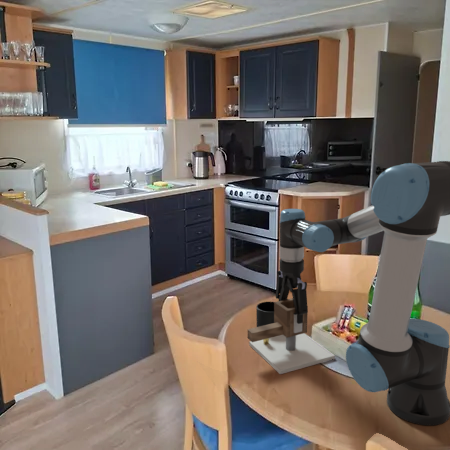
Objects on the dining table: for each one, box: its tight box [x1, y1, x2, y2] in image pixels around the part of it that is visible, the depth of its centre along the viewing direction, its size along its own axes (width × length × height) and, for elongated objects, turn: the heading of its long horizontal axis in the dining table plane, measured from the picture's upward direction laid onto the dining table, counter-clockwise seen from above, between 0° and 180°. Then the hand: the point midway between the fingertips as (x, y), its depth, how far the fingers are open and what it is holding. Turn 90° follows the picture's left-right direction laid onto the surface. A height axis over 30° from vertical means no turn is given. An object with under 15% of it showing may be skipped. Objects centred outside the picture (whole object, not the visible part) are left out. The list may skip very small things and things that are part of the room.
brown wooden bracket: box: [247, 297, 309, 342], centre depth 140 cm, size 19×8×9 cm, turn 115°
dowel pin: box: [263, 338, 269, 345], centre depth 148 cm, size 2×2×4 cm
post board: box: [248, 333, 336, 375], centre depth 144 cm, size 20×20×9 cm
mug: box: [255, 301, 275, 327], centre depth 161 cm, size 9×12×9 cm
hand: (290, 326), depth 143 cm, fingers closed on brown wooden bracket, 8 cm apart
